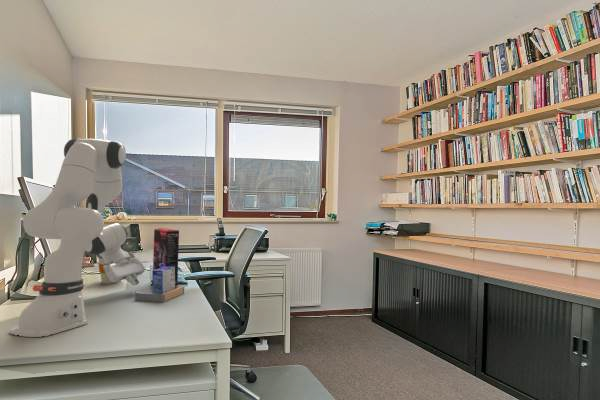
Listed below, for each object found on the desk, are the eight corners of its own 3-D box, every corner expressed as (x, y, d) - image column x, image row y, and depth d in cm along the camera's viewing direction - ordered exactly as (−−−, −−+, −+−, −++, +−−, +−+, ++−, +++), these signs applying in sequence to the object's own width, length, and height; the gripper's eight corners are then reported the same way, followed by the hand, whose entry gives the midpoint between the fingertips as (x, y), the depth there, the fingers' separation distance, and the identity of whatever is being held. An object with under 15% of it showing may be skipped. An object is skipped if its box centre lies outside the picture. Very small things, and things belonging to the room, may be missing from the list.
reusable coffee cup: (105, 278, 212) (106, 249, 212) (129, 279, 212) (129, 250, 212) (92, 283, 200) (92, 253, 200) (117, 284, 199) (118, 253, 199)
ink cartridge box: (164, 293, 182) (164, 261, 182) (175, 294, 181) (176, 261, 181) (151, 298, 173) (151, 264, 173) (163, 299, 171) (163, 265, 171)
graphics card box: (151, 282, 205) (152, 228, 205) (165, 281, 210) (166, 227, 210) (165, 288, 192) (166, 230, 192) (179, 286, 197) (180, 230, 197)
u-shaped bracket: (162, 302, 167) (163, 295, 167) (135, 299, 170) (135, 292, 170) (184, 293, 184) (184, 286, 184) (158, 291, 187) (158, 284, 187)
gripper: (105, 259, 172) (125, 284, 169) (136, 253, 191) (154, 275, 189) (96, 269, 173) (116, 294, 170) (128, 262, 192) (145, 284, 190)
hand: (136, 284), depth 180 cm, fingers closed
